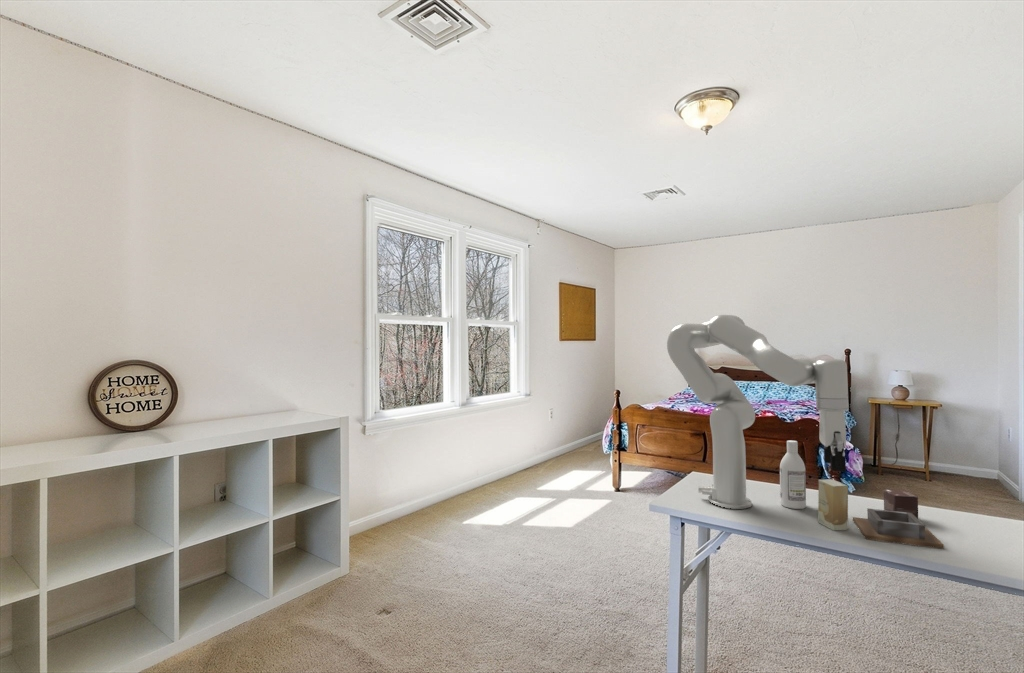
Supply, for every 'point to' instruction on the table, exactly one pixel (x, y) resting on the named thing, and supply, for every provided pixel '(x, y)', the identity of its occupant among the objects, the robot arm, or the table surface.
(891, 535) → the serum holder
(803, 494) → the bath foam
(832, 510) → the skincare box
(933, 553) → the table surface
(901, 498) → the box
